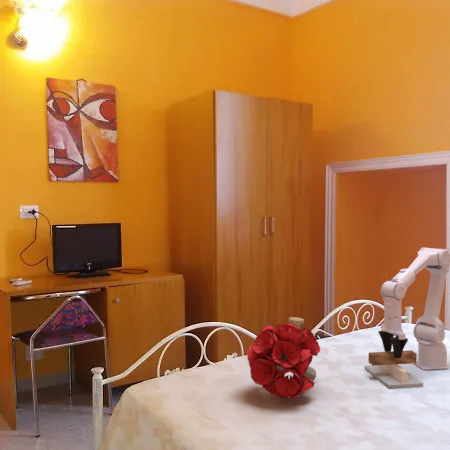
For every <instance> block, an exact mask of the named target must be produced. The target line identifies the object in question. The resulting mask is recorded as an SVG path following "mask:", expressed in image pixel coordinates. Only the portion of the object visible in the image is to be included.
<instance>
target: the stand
mask: <svg viewBox="0 0 450 450" xmlns="http://www.w3.org/2000/svg"><path fill="white" fill-rule="evenodd" d="M364 370H365V371H366V372H368V373H369V374H370V375H372V377H374V378H375V379H376V380H377V381H378V382H380V383H381V384H382V385H383V386H385V387H386V388H387V389H389V390H392V389H393V390H394V389H408V388H410V389H411V388H424V382H422V381H421V380H419V379H418V378H416V377H415V376H414V375H412V374H410V373H409V372H408V370H406V369H405V368H404V367H402V366H401V365H400V364H393V365H375V366H373V365H371V364H370V365H364Z"/></svg>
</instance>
